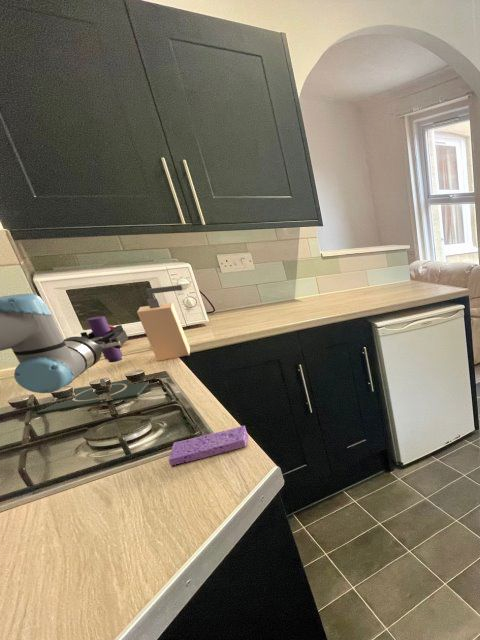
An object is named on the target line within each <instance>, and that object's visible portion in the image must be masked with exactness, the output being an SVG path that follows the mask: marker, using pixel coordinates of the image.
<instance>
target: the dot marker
mask: <svg viewBox="0 0 480 640" xmlns="http://www.w3.org/2000/svg"><path fill="white" fill-rule="evenodd" d="M86 322H87V324H88V326H89V328H90V330H91V332H93V334H94V336H95V337H101V336H104V335H106V334H108V333H109V331H110V330H111V329H110V327H109V325H110V324H109V323H108V320H107V318H106V316H104V315H100V316H92V317H88V318H86ZM102 355H103V357H104V359H105V360H107V361H108V363H117V362H120V361H122V360H123V358H122V357H123V353H122V350H121V348H120V349H116V348H112V347H108V349H107V350H106V351H103V352H102Z"/></svg>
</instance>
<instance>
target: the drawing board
mask: <svg viewBox="0 0 480 640" xmlns="http://www.w3.org/2000/svg"><path fill="white" fill-rule="evenodd" d="M149 376H151V377H153V376H155V375H147V376H146V377H149ZM127 380H128V379H124V380H118V381H113V382H112V381H111V382H110V383H112V387H111V391H110V395H111V398H112V399H113V400H115V401H121V400H127V399H133V398H138V397H139V396H140V395H141V394H142V393H143V392H144V391H145V389H146V388H147V387H148V386H149V385H150V384H151V382H150V383H149V381H148V382H142V383H136V384H129V383H128V381H127ZM92 386H93V385H88V386H82V387H76V388H73V389H74V393H75V395H77V396H76V397H75V398H73V399H71V400H67V401H64V402H60V403H56V404H54V405H51V406H49V407H47V408H45V409H42V408H41V409H42V410H40V409H39V410H40V411H39V410H37V411H36V415H37V414H38V415H43V414H49V413H56V412H60V411H65V410H72V409H77V408H82V407H88V406H93V405H99V404H101V403H100V402H101V401H99V400H98V399H99V395H98V394H96V393H94V392H93V388H92ZM51 401H54V398H53V399H52V400H51ZM115 401H114V402H115Z"/></svg>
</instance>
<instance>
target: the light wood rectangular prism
mask: <svg viewBox="0 0 480 640" xmlns="http://www.w3.org/2000/svg"><path fill="white" fill-rule="evenodd" d="M183 290H184V289H183V286H182V284H175V285H167V286H159V287H151V288H146V289H145V291H146V293H147V297H148V299H146V302H147V304H148V305H145V306H140V307H139V308H138V310H137V311H136V313H137V315H138V318H139V321H140V323H141V325H142V328H143V330H144V333H145V332H146V333H145V335H146V338H147V337H148V338H147V340H148V342H149V344H151V345H150V347H151V349H152V352H153V354H154V356H155V358H156V361H157V362H160V361H166V360H171V359H174V358H175V359H176V358H182V357H187V356H190V354H191V353H190V352H191V348H190V345H189V341H188V339H187V337H186V334H185V331H184V328H183V326H182V324H181V321H180V319H179V315H178V313H177V311H176V308H175V305H174V303H173V302H168V303H160V301H159V298H158V297H155V296H154V294H162V293H168V292H169V293H170V292H177V291H183Z"/></svg>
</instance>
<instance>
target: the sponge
mask: <svg viewBox="0 0 480 640" xmlns="http://www.w3.org/2000/svg"><path fill="white" fill-rule="evenodd" d="M246 433H247V435H246ZM247 438H248V431H247V428H246V425H241V426H238V427H233V428H230V429H227V430H223V431H217V432H213V433H209V434H204V435H201V436H200V435H199V436H196V437H193V438H189V439H184V440H181V441H180V440H179V441H174V442H173V444H172V447H171V452H170V455H169V457H168V462H169V465H170V466H171V465H175V466H177V465H176V464H179V463H182V464H185V463H184V462H187V463H189V462H188V461H190V462H194V461H198V460H201V459H206V458H209V457H212V456H216V455H220V454H222V453H227V452H230V451H231V452H232V451H233V450H236V449H240V448H244V447H246V446H247V443H248V441H247ZM197 459H198V460H197ZM193 460H194V461H193ZM179 465H180V464H179Z"/></svg>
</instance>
